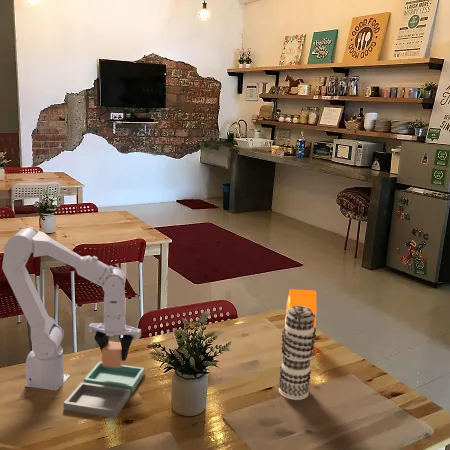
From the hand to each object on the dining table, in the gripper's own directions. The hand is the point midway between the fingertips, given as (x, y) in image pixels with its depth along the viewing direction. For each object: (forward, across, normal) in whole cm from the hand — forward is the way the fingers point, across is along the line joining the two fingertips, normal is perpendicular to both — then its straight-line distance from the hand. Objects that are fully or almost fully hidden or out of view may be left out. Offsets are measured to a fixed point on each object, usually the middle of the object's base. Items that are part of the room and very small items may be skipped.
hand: (115, 357), depth 141 cm
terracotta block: (+1, 0, 0) cm, 1 cm away
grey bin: (+7, 0, -12) cm, 14 cm away
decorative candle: (+8, +50, +8) cm, 51 cm away
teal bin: (+7, 0, 0) cm, 7 cm away
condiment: (+8, +17, +17) cm, 25 cm away
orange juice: (+8, +50, +36) cm, 62 cm away
